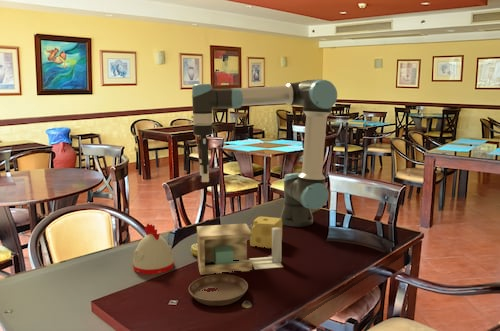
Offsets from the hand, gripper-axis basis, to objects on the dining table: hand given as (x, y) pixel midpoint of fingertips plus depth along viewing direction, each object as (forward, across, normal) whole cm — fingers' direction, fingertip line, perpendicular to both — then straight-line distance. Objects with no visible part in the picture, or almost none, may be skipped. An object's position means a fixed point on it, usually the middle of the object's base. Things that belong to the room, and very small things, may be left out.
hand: (204, 178), depth 179 cm
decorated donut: (+27, +13, -1) cm, 29 cm away
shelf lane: (+26, +26, +5) cm, 38 cm away
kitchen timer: (+26, +22, -20) cm, 40 cm away
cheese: (+27, +6, +24) cm, 36 cm away
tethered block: (+26, +26, +13) cm, 39 cm away
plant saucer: (+27, +48, +1) cm, 55 cm away
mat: (+26, +26, +19) cm, 42 cm away
